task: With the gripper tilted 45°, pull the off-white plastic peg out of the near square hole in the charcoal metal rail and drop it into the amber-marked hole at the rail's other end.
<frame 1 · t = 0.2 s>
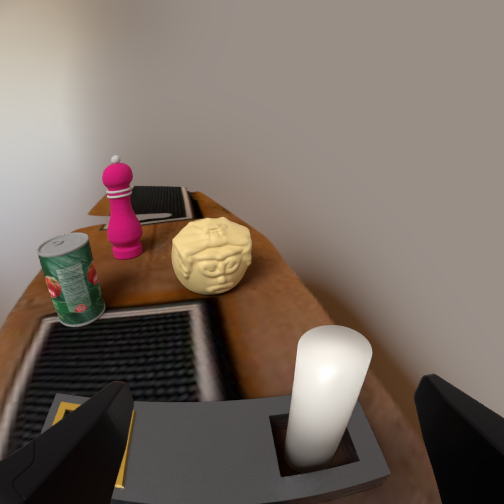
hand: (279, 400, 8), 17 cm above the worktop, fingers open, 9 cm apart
rail: (198, 463, 20), on the worktop
peg: (308, 452, 21), resting in rail
canned tomato: (82, 312, 39), on the worktop
sculpture: (212, 285, 47), on the worktop
pepper mill: (128, 254, 58), on the worktop
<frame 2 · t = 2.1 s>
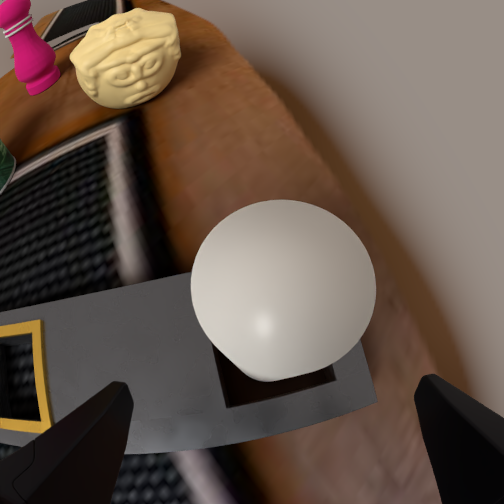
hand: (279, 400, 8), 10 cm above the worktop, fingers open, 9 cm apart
rail: (129, 373, 17), on the worktop
peg: (267, 348, 18), resting in rail
sculpture: (137, 92, 30), on the worktop
pepper mill: (45, 84, 34), on the worktop
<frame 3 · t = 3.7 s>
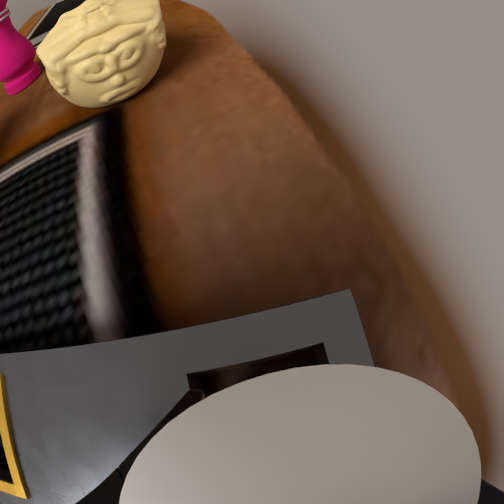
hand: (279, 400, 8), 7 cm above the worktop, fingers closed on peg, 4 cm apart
rail: (104, 439, 12), on the worktop
peg: (269, 419, 13), resting in rail, touching gripper
sculpture: (118, 88, 25), on the worktop
pepper mill: (25, 83, 29), on the worktop
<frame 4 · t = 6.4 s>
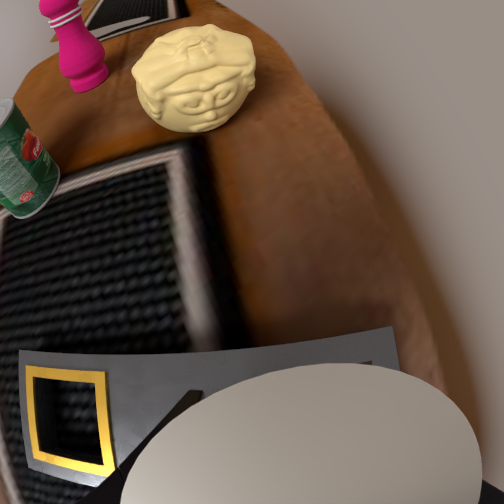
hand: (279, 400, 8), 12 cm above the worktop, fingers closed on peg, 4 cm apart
rail: (194, 424, 18), on the worktop
peg: (270, 418, 13), point 6 cm above the worktop, touching gripper
canned tomato: (34, 190, 27), on the worktop
sculpture: (199, 113, 31), on the worktop
pepper mill: (91, 82, 36), on the worktop
when the fingers open (8 cm above the worktop, at t = 9.4 s): peg stays where it is, resting in rail.
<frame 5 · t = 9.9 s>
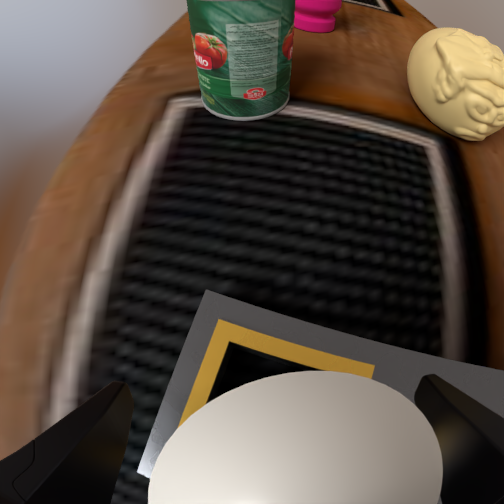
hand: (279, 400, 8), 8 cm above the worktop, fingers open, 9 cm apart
rail: (415, 445, 13), on the worktop
peg: (269, 417, 14), resting in rail
canned tomato: (245, 95, 25), on the worktop
sculpture: (445, 117, 24), on the worktop
pepper mill: (311, 26, 32), on the worktop
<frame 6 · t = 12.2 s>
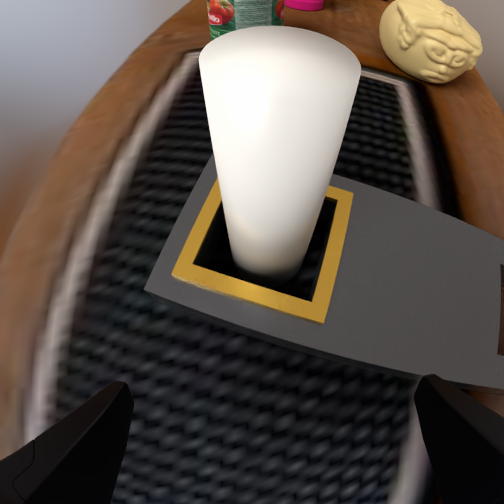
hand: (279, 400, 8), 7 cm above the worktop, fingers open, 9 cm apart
rail: (408, 295, 17), on the worktop
peg: (268, 252, 18), resting in rail
canned tomato: (247, 50, 28), on the worktop
sculpture: (415, 69, 28), on the worktop
pepper mill: (303, 6, 36), on the worktop
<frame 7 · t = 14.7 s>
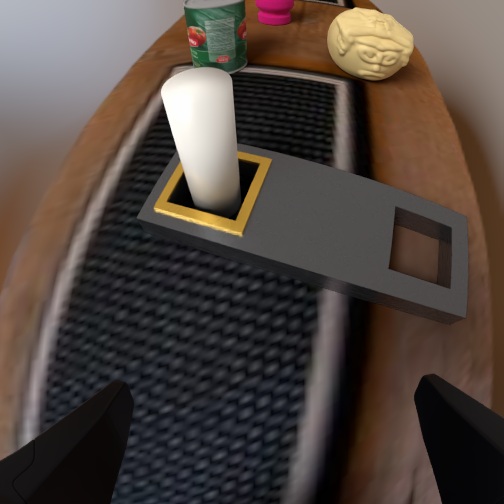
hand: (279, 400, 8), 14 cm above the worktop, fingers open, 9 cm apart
rail: (316, 228, 25), on the worktop
peg: (217, 200, 27), resting in rail
canned tomato: (220, 64, 37), on the worktop
sculpture: (360, 70, 37), on the worktop
pepper mill: (274, 21, 45), on the worktop
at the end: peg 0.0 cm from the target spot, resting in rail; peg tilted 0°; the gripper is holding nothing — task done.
